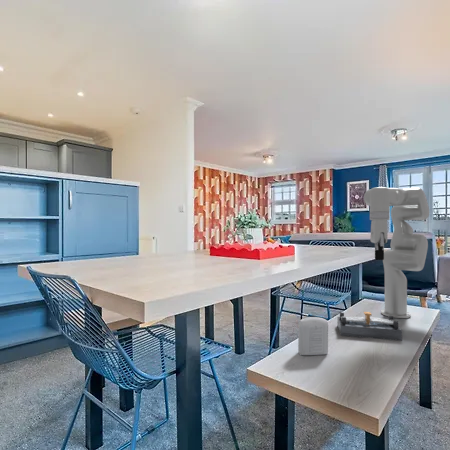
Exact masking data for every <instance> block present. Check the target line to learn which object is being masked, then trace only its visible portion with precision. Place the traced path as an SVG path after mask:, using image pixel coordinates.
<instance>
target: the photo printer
mask: <svg viewBox="0 0 450 450" xmlns="http://www.w3.org/2000/svg"><path fill="white" fill-rule="evenodd" d="M297 338H298V343H297V345H298V346H297V347H298V349H297V350H298V354H299V355H301V356H316V355H317V356H319V355H321V356H323V355H328V354H329V321H328V320H327V319H325V318H322V317H318V316H317V317H316V316H309V317H305V318H302V319H299V321H298V337H297Z"/></svg>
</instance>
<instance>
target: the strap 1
mask: <svg viewBox="0 0 450 450" xmlns="http://www.w3.org/2000/svg"><path fill="white" fill-rule="evenodd" d="M342 317H346V321H347V322H366V320H365V316H345V315H344V316H341V320H342Z"/></svg>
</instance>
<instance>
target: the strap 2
mask: <svg viewBox="0 0 450 450" xmlns="http://www.w3.org/2000/svg"><path fill="white" fill-rule="evenodd" d="M370 320H371V322H376V323H383V324H390V325H393V321H395V320H393V319H389V318H382V317H381V318H380V317H374V316H370Z"/></svg>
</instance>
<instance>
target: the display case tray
mask: <svg viewBox="0 0 450 450" xmlns="http://www.w3.org/2000/svg"><path fill="white" fill-rule="evenodd" d="M363 315H364V318H365V320H366V322H347V321H346V317H342V320H341V316H345V313H344V312H339V316H337V317H336V318H337V323H336V325H337V329H338V332H339V334H340V335H339V336H342V337H351V338H352V337H354V338H365V339H377V340H378V339H379V340H389V341H392V340H393V341H403V330H402V329H401V327H400V326H399V321H398V320H394V319H395V318H394V317H393V316H388V319H393V320H394V321H393V325H390V324H383V323H376V322H371V320H370V317H373V316H372V313H371V311H363Z"/></svg>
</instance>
